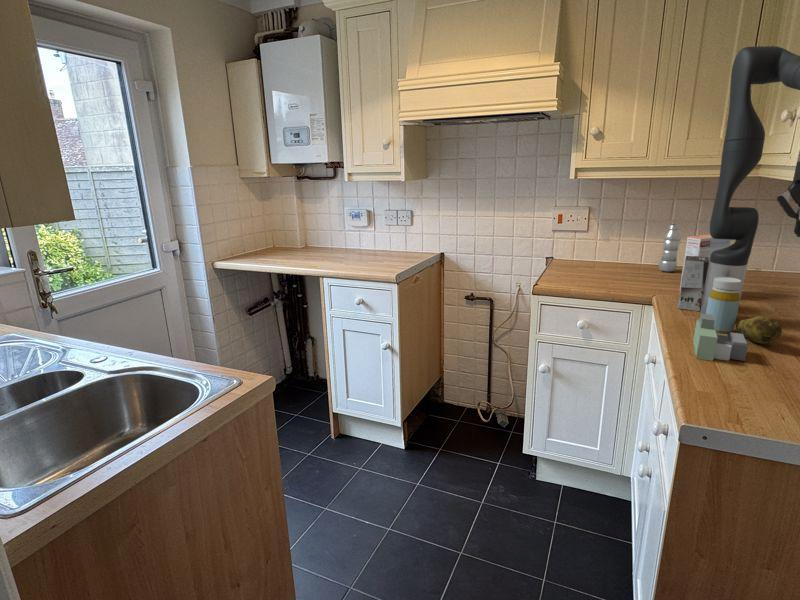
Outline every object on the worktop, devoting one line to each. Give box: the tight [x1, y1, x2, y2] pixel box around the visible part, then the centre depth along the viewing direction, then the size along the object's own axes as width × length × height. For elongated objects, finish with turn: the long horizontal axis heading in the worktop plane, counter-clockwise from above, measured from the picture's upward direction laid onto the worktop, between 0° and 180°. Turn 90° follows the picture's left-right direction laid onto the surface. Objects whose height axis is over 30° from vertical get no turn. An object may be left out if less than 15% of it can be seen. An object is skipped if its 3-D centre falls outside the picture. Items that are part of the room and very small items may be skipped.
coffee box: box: [677, 256, 709, 312], centre depth 153 cm, size 9×6×16 cm
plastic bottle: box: [658, 223, 682, 273], centre depth 199 cm, size 6×7×20 cm
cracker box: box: [679, 234, 731, 295], centre depth 166 cm, size 14×6×21 cm, turn 108°
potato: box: [735, 316, 783, 344], centre depth 123 cm, size 8×13×8 cm, turn 154°
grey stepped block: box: [717, 332, 749, 362], centre depth 117 cm, size 8×6×4 cm
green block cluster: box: [692, 313, 732, 362], centre depth 118 cm, size 13×7×8 cm, turn 152°
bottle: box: [706, 277, 741, 336], centre depth 131 cm, size 7×7×15 cm
